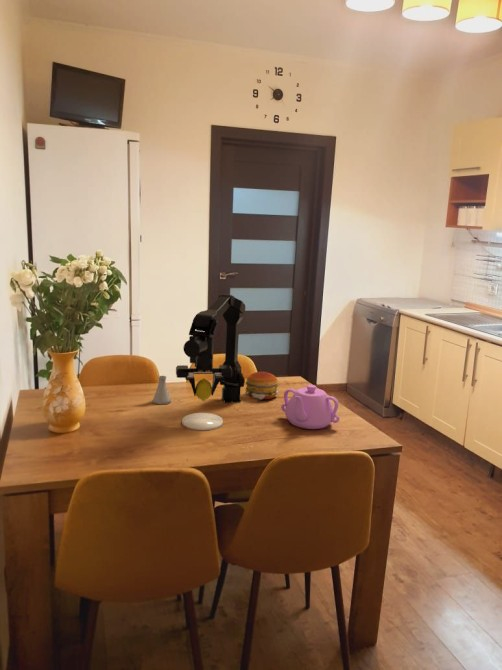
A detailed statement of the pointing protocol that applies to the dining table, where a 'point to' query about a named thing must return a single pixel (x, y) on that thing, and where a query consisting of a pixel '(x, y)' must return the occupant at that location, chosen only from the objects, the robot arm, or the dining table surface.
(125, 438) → the dining table surface
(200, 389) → the lemon
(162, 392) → the flask
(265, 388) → the burger
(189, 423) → the plate
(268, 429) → the dining table surface
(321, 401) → the teapot
